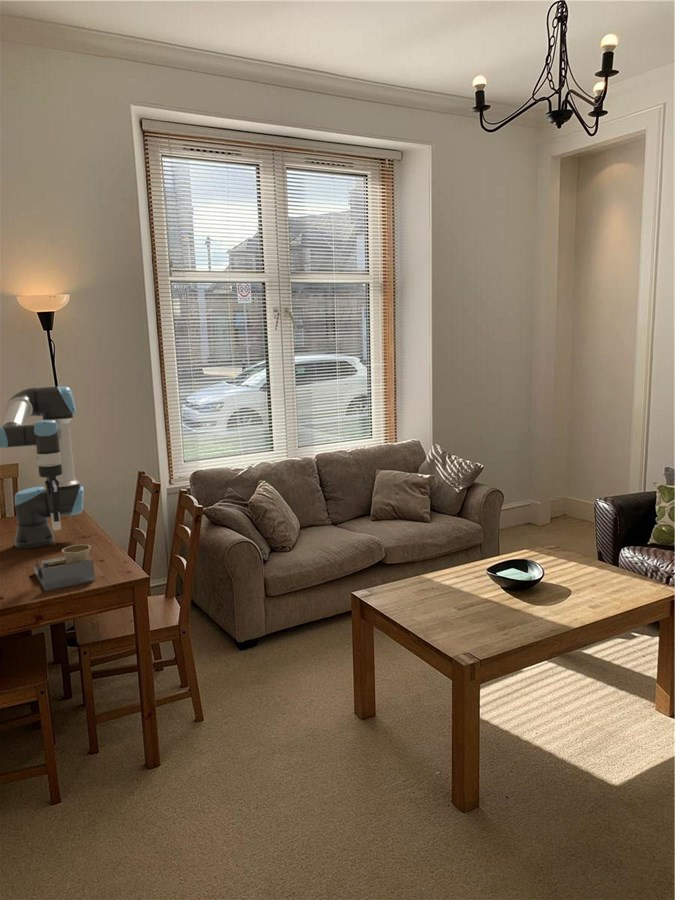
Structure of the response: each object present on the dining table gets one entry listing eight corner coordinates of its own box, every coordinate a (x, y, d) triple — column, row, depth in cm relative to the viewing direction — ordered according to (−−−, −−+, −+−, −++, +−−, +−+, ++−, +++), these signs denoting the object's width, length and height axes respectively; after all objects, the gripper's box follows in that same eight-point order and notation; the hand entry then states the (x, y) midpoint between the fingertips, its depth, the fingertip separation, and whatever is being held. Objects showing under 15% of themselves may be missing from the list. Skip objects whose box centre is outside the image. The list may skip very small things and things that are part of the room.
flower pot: (98, 568, 236) (95, 544, 235) (83, 577, 227) (80, 553, 225) (74, 567, 238) (72, 544, 236) (58, 576, 229) (56, 552, 227)
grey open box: (34, 573, 239) (32, 553, 237) (81, 564, 247) (79, 544, 246) (45, 591, 220) (42, 569, 219) (94, 580, 228) (92, 559, 227)
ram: (42, 571, 233) (41, 561, 233) (79, 564, 240) (78, 554, 239) (44, 575, 230) (43, 564, 229) (82, 567, 236) (81, 557, 236)
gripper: (35, 463, 235) (42, 527, 239) (41, 468, 224) (48, 535, 228) (57, 460, 239) (64, 524, 243) (64, 465, 228) (71, 531, 232)
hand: (56, 529), depth 235 cm, fingers closed
